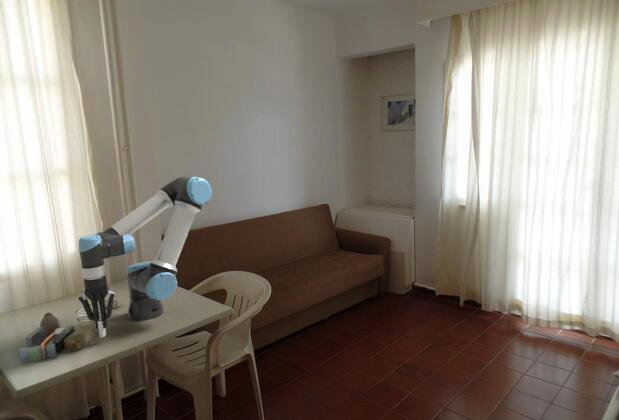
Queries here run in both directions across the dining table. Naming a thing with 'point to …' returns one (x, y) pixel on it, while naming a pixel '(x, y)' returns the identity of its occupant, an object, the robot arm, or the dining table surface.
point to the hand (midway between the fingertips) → (103, 336)
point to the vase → (49, 324)
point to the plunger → (58, 339)
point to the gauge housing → (37, 347)
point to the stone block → (78, 339)
